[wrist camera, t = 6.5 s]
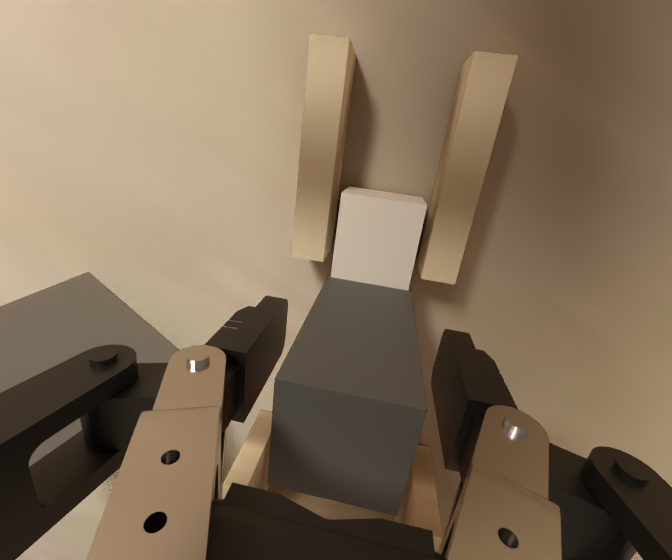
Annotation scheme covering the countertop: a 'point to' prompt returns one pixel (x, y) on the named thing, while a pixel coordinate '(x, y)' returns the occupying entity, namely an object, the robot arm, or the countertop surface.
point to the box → (413, 509)
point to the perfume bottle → (70, 336)
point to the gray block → (356, 365)
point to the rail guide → (454, 169)
